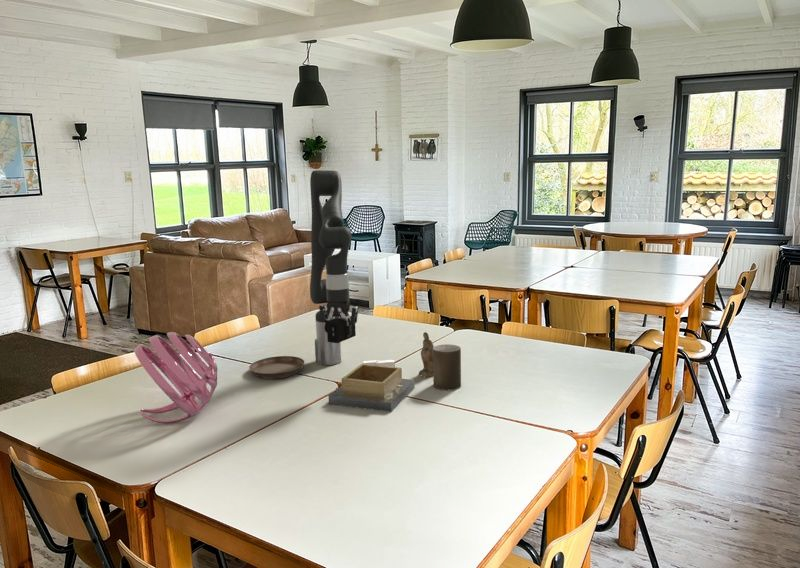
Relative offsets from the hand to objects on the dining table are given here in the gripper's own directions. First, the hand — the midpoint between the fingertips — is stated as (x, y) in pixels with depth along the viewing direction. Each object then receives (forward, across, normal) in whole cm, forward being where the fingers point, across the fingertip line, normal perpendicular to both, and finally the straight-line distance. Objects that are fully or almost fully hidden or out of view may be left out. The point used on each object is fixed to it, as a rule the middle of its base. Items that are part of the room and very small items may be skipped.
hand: (339, 335), depth 214 cm
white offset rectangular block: (+21, +4, +21) cm, 30 cm away
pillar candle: (+20, +32, +17) cm, 42 cm away
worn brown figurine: (+20, +23, +29) cm, 42 cm away
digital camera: (+1, 0, 0) cm, 1 cm away
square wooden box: (+20, +12, 0) cm, 23 cm away
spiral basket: (+20, -40, -34) cm, 56 cm away
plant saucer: (+20, -34, +12) cm, 41 cm away
